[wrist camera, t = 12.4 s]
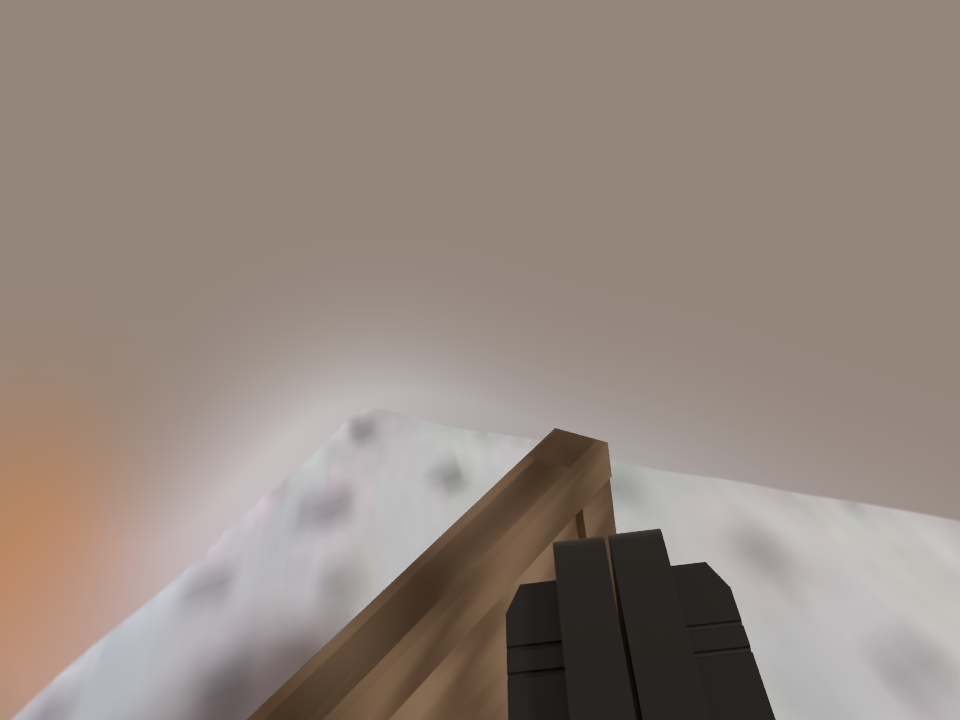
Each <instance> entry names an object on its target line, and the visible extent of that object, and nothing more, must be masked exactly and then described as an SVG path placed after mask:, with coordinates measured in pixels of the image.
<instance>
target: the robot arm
mask: <svg viewBox="0 0 960 720" xmlns="http://www.w3.org/2000/svg"><path fill="white" fill-rule="evenodd" d="M608 540H609V549H610V557H611V565H612V573H613V581H614V589H615V596H614V590H613V584H612V579H611V573H610V567H609V562H608V556H607V550H606V545H605V539H604V536H598V537H590V538H582V539H574V540H566V541H558V542H553V553H554V563H555V573H556V580H553V581H545V582H536V583H528V584H520V585H519V588H518V590H517V592H516V594H515V596H514V598H513V600H512V602H511V604H510V606H509V608H508V610H507V612H506V647H507V676H508V680H507V691H508V720H775V717H774V714H773V711H772V708H771V705H770V702H769V699H768V696H767V694H766V691H765V688H764V685H763V682H762V679H761V676H760V673H759V670H758V667H757V664H756V661H755V658H754V655H753V652H751V648H750V644H749V641H748V638H747V635H746V632H745V629H744V626H742V622H741V617H740V614H739V611H738V608H737V606H736V603H735V600H734V597H733V594H732V591H731V588H730V587H729V586H728V585H727V584H726V583H725V582H724V581H723V580H722V579H721V577H720V576H719V575H718V574H717V573H716V572H715V571H714V570H713V569H712V568H711V567H710V566H709V565H708V564H707V563H706V562H701V563H693V564H685V565H676V566H671V565H670V562H669V558H668V554H667V550H666V547H665V543H664V539H663V535H662V532H661V530H660V529H653V530H645V531H637V532H629V533H621V534H612V535H608ZM615 597H616V601H615ZM616 605H617V607H616Z"/></svg>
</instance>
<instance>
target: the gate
mask: <svg viewBox="0 0 960 720" xmlns="http://www.w3.org/2000/svg"><path fill="white" fill-rule="evenodd" d="M611 477H612V475H611V467H610V458H609V450H608V443H607V442H604V441H600V440H596V439H593V438H589V437H585V436H581V435H578V434H574V433H570V432H567V431H563V430H560V429H556V428H555V429H554V430H553V431H552V432H551V433H549V434H548V435H547V436H546V437H545V438H544V439H543V440H542V441H541V442H540V443H539V444H538V445H537V446H536V447H535V448H534V449H533V450H532V451H530V452H529V453H528V454H527V455H526V456H525V457H524V458H523V459H522V460H521V461H520V462H519V463H518V464H517V465H516V466H515V467H514V468H512V469H511V470H510V471H509V472H508V473H507V474H506V475H505V476H504V477H503V478H502V479H501V480H500V481H499V482H498V483H497V484H496V485H495V486H493V487H492V488H491V489H490V490H489V491H488V492H487V493H486V494H485V495H484V496H483V497H482V498H481V499H480V500H479V501H478V502H477V503H475V504H474V505H473V506H472V507H471V508H470V509H469V510H468V511H467V512H466V513H465V514H464V515H463V516H462V517H461V518H460V519H459V520H457V521H456V522H455V523H454V524H453V525H452V526H451V527H450V528H449V529H448V530H447V531H446V532H445V533H444V534H443V535H442V536H441V537H440V538H438V539H437V540H436V541H435V542H434V543H433V544H432V545H431V546H430V547H429V548H428V549H427V550H426V551H425V552H424V553H423V554H422V555H420V556H419V557H418V558H417V559H416V560H415V561H414V562H413V563H412V564H411V565H410V566H409V567H408V568H407V569H406V570H405V571H404V572H403V573H401V574H400V575H399V576H398V577H397V578H396V579H395V580H394V581H393V582H392V583H391V584H390V585H389V586H388V587H387V588H386V589H385V590H383V591H382V592H381V593H380V594H379V595H378V596H377V597H376V598H375V599H374V600H373V601H372V602H371V603H370V604H369V605H368V606H367V607H366V608H364V609H363V610H362V611H361V612H360V613H359V614H358V615H357V616H356V617H355V618H354V619H353V620H352V621H351V622H350V623H349V624H348V625H346V626H345V627H344V628H343V629H342V630H341V631H340V632H339V633H338V634H337V635H336V636H335V637H334V638H333V639H332V640H331V641H330V642H329V643H327V644H326V645H325V646H324V647H323V648H322V649H321V650H320V651H319V652H318V653H317V654H316V655H315V656H314V657H313V658H312V659H311V660H309V661H308V662H307V663H306V664H305V665H304V666H303V667H302V668H301V669H300V670H299V671H298V672H297V673H296V674H295V675H294V676H293V677H291V678H290V679H289V680H288V681H287V682H286V683H285V684H284V685H283V686H282V687H281V688H280V689H279V690H278V691H277V692H276V693H275V694H274V695H272V696H271V697H270V698H269V699H268V700H267V701H266V702H265V703H264V704H263V705H262V706H261V707H260V708H259V709H258V710H257V711H256V712H254V713H253V714H252V715H251V716H250V717H249V718H248V719H247V720H508V691H507V680H508V676H507V647H506V612H507V610H508V608H509V606H510V604H511V602H512V600H513V598H514V596H515V594H516V592H517V590H518V588H519V585H520V584H528V583H536V582H545V581H553V580H556V573H555V563H554V553H553V542H558V541H566V540H574V539H582V538H590V537H598V536H604V539H605V545H606V550H607V556H608V562H609V567H610V573H611V579H612V584H613V590H614V596H615V589H614V581H613V573H612V565H611V557H610V549H609V540H608V535H612V534H616V527H615V519H614V510H613V502H612V494H611V485H610V478H611ZM615 601H616V597H615ZM616 607H617V605H616Z"/></svg>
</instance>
